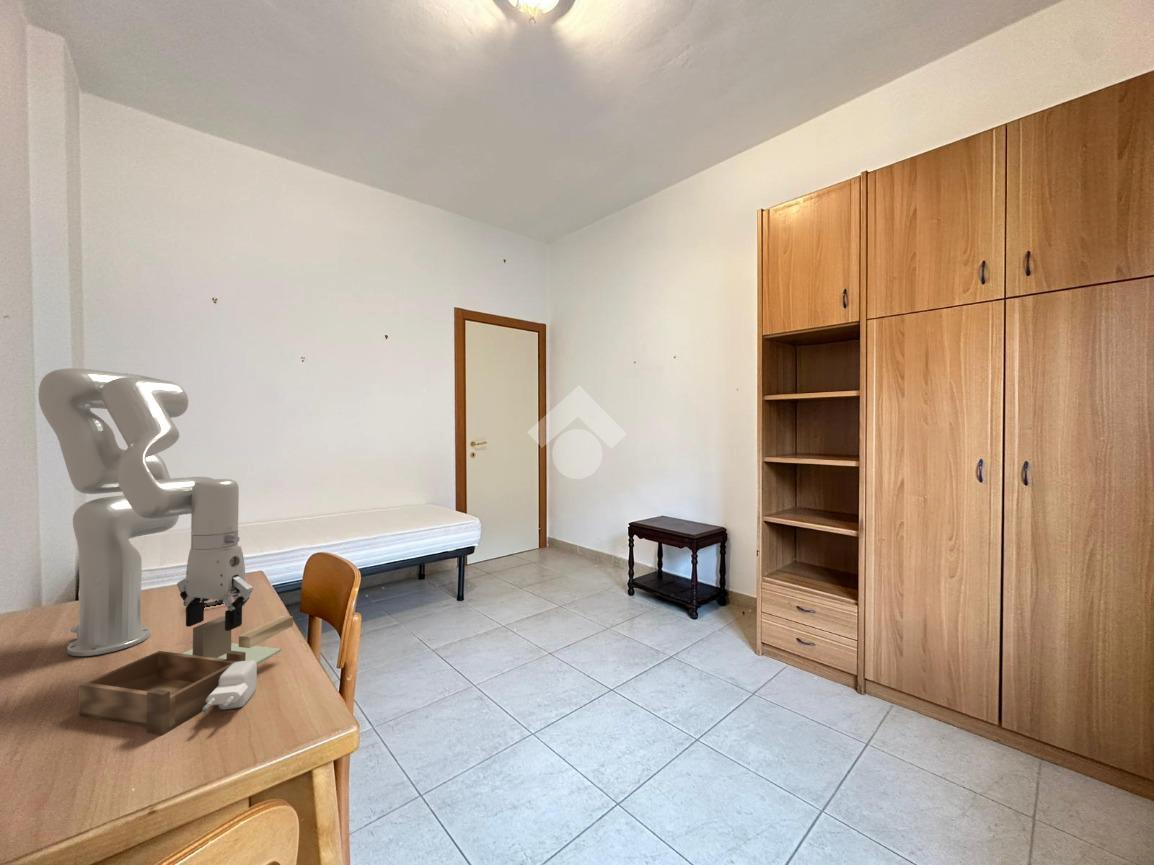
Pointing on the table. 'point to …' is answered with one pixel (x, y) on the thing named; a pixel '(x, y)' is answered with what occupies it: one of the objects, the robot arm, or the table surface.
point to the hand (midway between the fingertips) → (214, 625)
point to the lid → (223, 643)
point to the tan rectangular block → (265, 631)
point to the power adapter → (234, 686)
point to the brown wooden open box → (155, 690)
